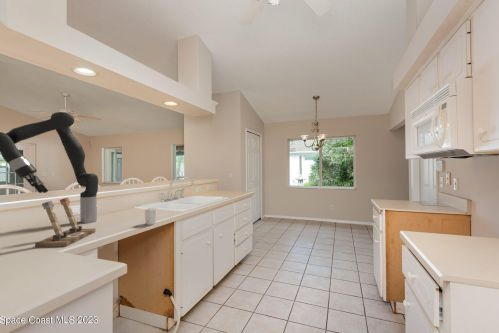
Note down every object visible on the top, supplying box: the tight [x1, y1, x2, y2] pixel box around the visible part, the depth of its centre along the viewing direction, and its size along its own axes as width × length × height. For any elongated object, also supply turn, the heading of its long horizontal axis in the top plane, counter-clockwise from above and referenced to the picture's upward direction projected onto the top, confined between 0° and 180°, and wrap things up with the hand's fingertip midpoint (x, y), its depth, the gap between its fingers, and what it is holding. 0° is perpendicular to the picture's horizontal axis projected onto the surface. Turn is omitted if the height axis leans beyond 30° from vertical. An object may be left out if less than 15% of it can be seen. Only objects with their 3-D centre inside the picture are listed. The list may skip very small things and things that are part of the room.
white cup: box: [144, 207, 158, 226], centre depth 153 cm, size 8×8×10 cm
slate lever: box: [41, 200, 64, 237], centre depth 115 cm, size 3×3×19 cm
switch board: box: [34, 225, 96, 248], centre depth 121 cm, size 24×14×4 cm, turn 6°
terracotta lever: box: [59, 197, 79, 230], centre depth 127 cm, size 3×3×19 cm
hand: (44, 192), depth 124 cm, fingers open, 8 cm apart
